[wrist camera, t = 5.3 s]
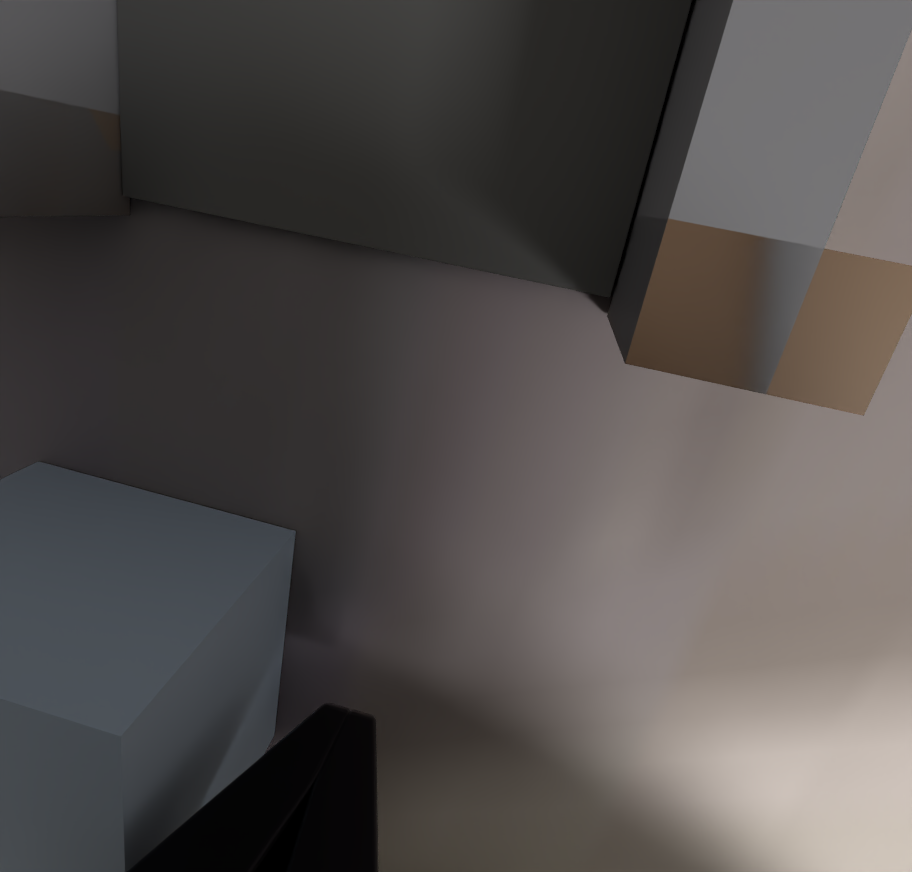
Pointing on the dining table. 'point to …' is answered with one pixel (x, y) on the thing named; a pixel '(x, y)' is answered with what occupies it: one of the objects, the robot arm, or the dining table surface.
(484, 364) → the dining table surface
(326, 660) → the dining table surface
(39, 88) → the trap pockets
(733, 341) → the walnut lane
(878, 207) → the dining table surface
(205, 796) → the slate block
